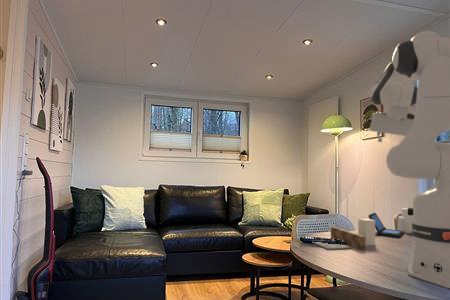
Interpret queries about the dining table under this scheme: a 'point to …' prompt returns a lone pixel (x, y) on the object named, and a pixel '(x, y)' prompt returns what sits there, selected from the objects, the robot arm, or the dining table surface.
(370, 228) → the block
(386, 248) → the dining table surface
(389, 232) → the handheld game console
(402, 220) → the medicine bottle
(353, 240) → the door edge
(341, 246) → the grey flat board
